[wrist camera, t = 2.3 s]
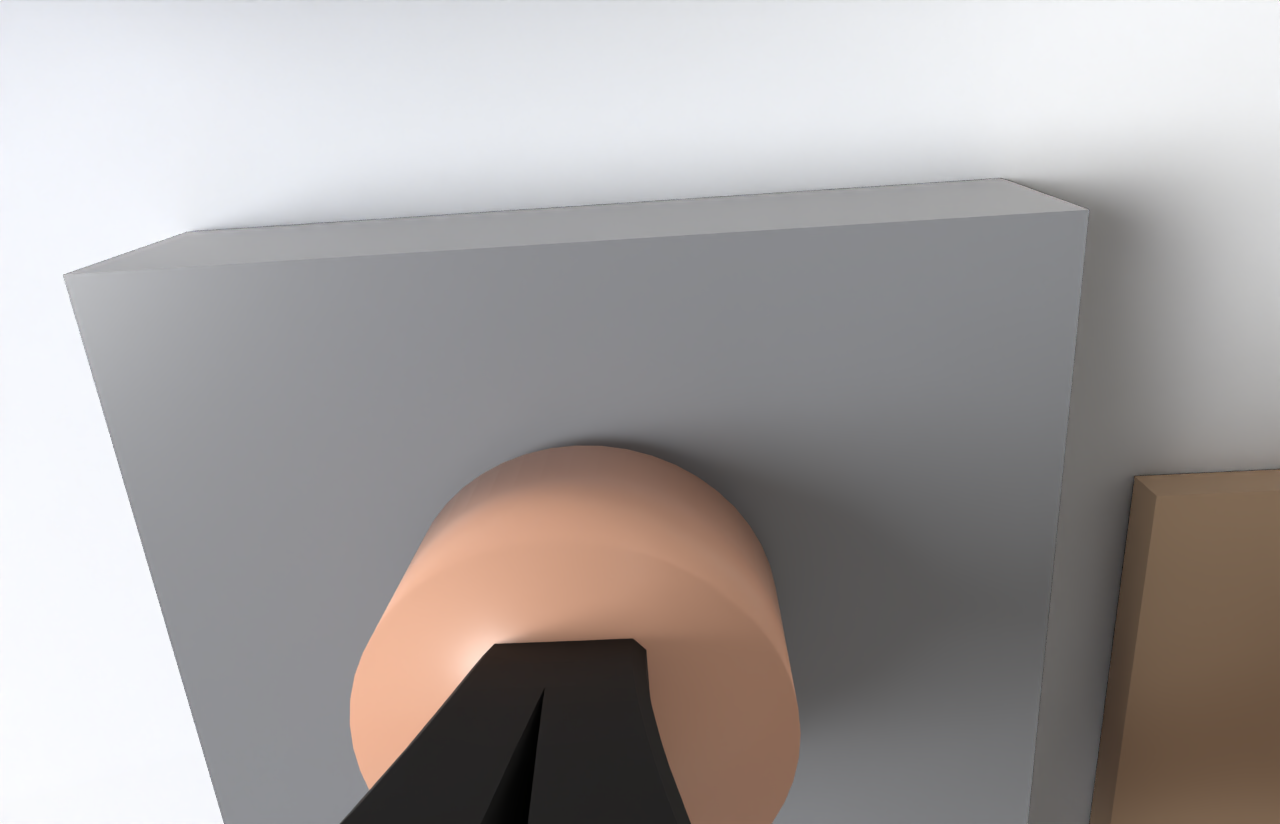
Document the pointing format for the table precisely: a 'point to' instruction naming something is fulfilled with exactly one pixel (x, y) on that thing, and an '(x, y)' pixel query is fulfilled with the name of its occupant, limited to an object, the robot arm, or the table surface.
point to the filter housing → (621, 418)
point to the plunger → (599, 615)
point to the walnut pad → (1195, 656)
